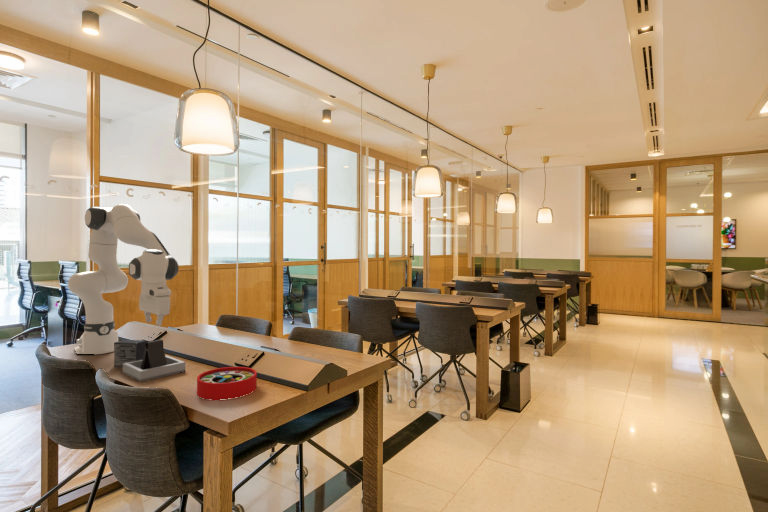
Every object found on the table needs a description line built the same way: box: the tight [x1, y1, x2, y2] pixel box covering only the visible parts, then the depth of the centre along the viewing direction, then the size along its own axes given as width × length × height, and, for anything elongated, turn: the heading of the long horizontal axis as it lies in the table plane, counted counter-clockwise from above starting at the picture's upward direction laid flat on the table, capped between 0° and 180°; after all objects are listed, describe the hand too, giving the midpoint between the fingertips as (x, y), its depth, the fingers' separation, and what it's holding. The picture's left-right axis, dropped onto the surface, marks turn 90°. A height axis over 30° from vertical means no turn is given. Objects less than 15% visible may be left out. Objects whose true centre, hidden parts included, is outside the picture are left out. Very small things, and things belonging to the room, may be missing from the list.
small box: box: [113, 339, 147, 368], centre depth 179 cm, size 11×6×10 cm, turn 84°
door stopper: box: [141, 338, 167, 370], centre depth 169 cm, size 9×6×12 cm, turn 59°
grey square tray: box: [122, 354, 186, 383], centre depth 169 cm, size 17×17×4 cm
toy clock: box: [196, 366, 258, 401], centre depth 149 cm, size 20×6×20 cm
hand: (153, 323), depth 169 cm, fingers open, 8 cm apart
